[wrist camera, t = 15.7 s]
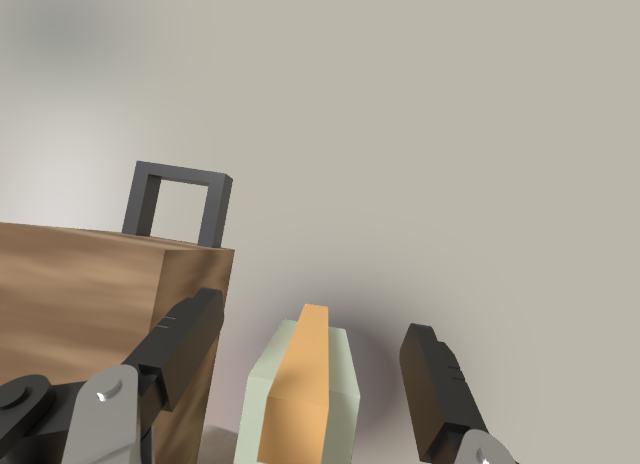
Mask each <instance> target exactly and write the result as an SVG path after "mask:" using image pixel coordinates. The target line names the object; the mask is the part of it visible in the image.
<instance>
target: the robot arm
mask: <svg viewBox="0 0 640 464" xmlns="http://www.w3.org/2000/svg"><path fill="white" fill-rule="evenodd" d="M223 321H224V306H223V293H222V291H221V290H218V289H212V288H206V287H203V288H201V289H200V290H199V291H198V292H197V294H196V295H195V296H194V297H193V298H188V297H187V298H185V299H184V300H182V301H180V302H179V303H177V304H176V305H174V306H173V307H172V308H171V309H170V311H169V312H168V313H167V314H166V315H165V317H164V318H162V319H161V321H160V322H159V323H158V324H157V326H155V327H154V328H153V329H152V330H151V332H150V333H149V334H148V335H147V336H146V337H145V338H144V339H143V340H142V342H141V343H140V344H139V345H138V346H137V347H136V348H135V349H134V350H133V351H132V353H131V354H130V355H129V356H128V357H127V358H126V359H125V360H124V361H123V362H122V363H121V364H120V365H115V366H112V367H109V368H106V369H104V370H102V371H100V372H99V373H97V374H96V375H94V376H93V377H91V378H90V379H89V380H87V381H81V382H73V383H66V384H59V385H51V383H50V382H49V380H48V379H47V377H45V376H43V375H39V374H33V375H27V376H22V377H19V378H16V379H14V380H11V381H9V382H7V383H5V384H3V385H1V386H0V460H1V459H2V458H3V459H2V460H1V461H0V464H155V454H154V421H155V419H156V417H157V416H158V414H159V413H160V411H161V410H162V411H167V412H173V410H174V409H175V407H176V405H177V404H178V402H179V400H180V398H181V397H182V395H183V393H184V392H185V390H186V388H187V387H188V385H189V383H190V381H191V380H192V378H193V376H194V375H195V373H196V371H197V370H198V368H199V366H200V364H201V363H202V361H203V359H204V358H205V356H206V354H207V353H208V351H209V349H210V348H211V346H212V344H213V342H214V341H215V339H216V337H217V336H218V334H219V332H220V330H221V328H222V325H223ZM400 366H401V370H402V376H403V381H404V386H405V391H406V395H407V400H408V405H409V410H410V415H411V420H412V425H413V430H414V434H415V439H416V444H417V449H418V453H419V459H420V461H421V462H426V463H432V464H519V463H517V462H516V461H514V459H513V457H512V456H511V455H510V453H509V451H508V450H507V449H506V448H505V447H504V446H503V445H502V444H501V443H500V442H499V441H498V440H497V439H496V438H494V437H493V436H492V435H490V434H489V432H488V430H487V428H486V426H485V424H484V421H483V419H482V417H481V414H480V412H479V410H478V407H477V405H476V403H475V401H474V398H473V396H472V394H471V391H470V389H469V387H468V385H467V383H466V382H465V378H464V375H463V373H462V371H460V366H459V364H458V362H457V360H456V357H455V355H454V354H453V353H452V351H451V350H450V349H449V348H448V346H447V345H446V344H445V343H444V342H439V341H437V338H436V335H435V333H434V330H433V329H432V327H431V326H426V325H419V324H414V323H412V324H410V326H409V328H408V331H407V333H406V336H405V338H404V341H403V344H402V346H401V349H400Z"/></svg>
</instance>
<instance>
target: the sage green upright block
mask: <svg viewBox="0 0 640 464" xmlns="http://www.w3.org/2000/svg"><path fill="white" fill-rule="evenodd" d="M297 323H298V321H292V320H286V319H284V320H283V321H282V323H281V324H280V326H279V328H278V329H277V331H276V332H275V334H274V336H273V337H272V339H271V341H270V342H269V344H268V345H267V347H266V348H265V350H264V352H263V353H262V355H261V356H260V358H259V360H258V361H257V363H256V365H255V366H254V368H253V369H252V371H251V372H250V374H249V376H248V382H247V387H246V393H245V398H244V404H243V410H242V416H241V422H240V428H239V434H238V439H237V445H236V451H235V457H234V463H233V464H266V463H261V462H256V461H257V455H258V449H259V443H260V437H261V431H262V425H263V419H264V413H265V407H266V401H267V396H268V393H269V391H270V388H271V386H272V383H273V381H274V379H275V376H276V374H277V371H278V369H279V366H280V364H281V362H282V359H283V357H284V354H285V352H286V349H287V347H288V344H289V342H290V340H291V337H292V335H293V332H294V330H295V327H296V325H297ZM328 364H329V411H328V417H327V424H326V431H325V438H324V444H323V451H322V458H321V464H351V459H352V451H353V444H354V437H355V429H356V423H357V416H358V409H359V401H360V393H359V388H358V384H357V380H356V375H355V371H354V367H353V362H352V357H351V353H350V349H349V344H348V340H347V336H346V331H345V330H344V329H339V328H334V327H328Z"/></svg>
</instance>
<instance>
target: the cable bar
mask: <svg viewBox="0 0 640 464" xmlns="http://www.w3.org/2000/svg"><path fill="white" fill-rule="evenodd" d="M328 411H329V364H328V307H323V306H317V305H311V304H305V305H304V308H303V310H302V313H301V315H300V318H299V320H298V323H297V325H296V327H295V330H294V332H293V335H292V337H291V340H290V342H289V344H288V347H287V349H286V352H285V354H284V357H283V359H282V362H281V364H280V366H279V369H278V371H277V374H276V376H275V379H274V381H273V383H272V386H271V388H270V391H269V393H268V396H267V401H266V407H265V413H264V419H263V425H262V431H261V437H260V443H259V449H258V455H257V461H256V462H261V463H266V464H321V458H322V451H323V444H324V438H325V431H326V424H327V417H328Z"/></svg>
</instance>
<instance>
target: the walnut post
mask: <svg viewBox="0 0 640 464" xmlns="http://www.w3.org/2000/svg"><path fill="white" fill-rule="evenodd" d="M234 252H235V250H233V249H226V248H209V247H203V246H197V244H195V243H189V242H182V241H176V240H170V239H164V238H158V237H152V236H150V237H147V236H134V235H128V234H122V233H121V232H109V231H97V230H85V229H73V228H60V227H49V226H37V225H25V224H13V223H1V222H0V386H1V385H3V384H5V383H7V382H9V381H11V380H14V379H16V378H19V377H22V376H27V375H33V374H39V375H43V376H45V377H47V379H48V380H49V382H50V383H51V385H59V384H66V383H73V382H81V381H87V380H89V379H90V378H91V377H93V376H94V375H96V374H97V373H99V372H100V371H102V370H104V369H106V368H109V367H112V366H115V365H120V364H121V363H122V362H123V361H124V360H125V359H126V358H127V357H128V356H129V355H130V354H131V353H132V351H133V350H134V349H135V348H136V347H137V346H138V345H139V344H140V343H141V342H142V340H143V339H144V338H145V337H146V336H147V335H148V334H149V333H150V332H151V330H152V329H153V328H154V327H155V326H157V324H158V323H159V322H160V321H161V319H162V318H164V317H165V315H166V314H167V313H168V312H169V311H170V309H171V308H172V307H173V306H174V305H176V304H177V303H179V302H180V301H182V300H184V299H185V298H187V297H188V298H193V297H194V296H195V295H196V294H197V292H198V291H199V290H200V289H201V288H203V287H206V288H212V289H218V290H221V291H222V293H223V306H224V307H225V302H226V296H227V291H228V285H229V279H230V274H231V269H232V263H233V257H234ZM219 335H220V332H219V334H218V336H217V337H216V339H215V341H214V342H213V344H212V346H211V348H210V349H209V351H208V353H207V354H206V356H205V358H204V359H203V361H202V363H201V364H200V366H199V368H198V370H197V371H196V373H195V375H194V376H193V378H192V380H191V381H190V383H189V385H188V387H187V388H186V390H185V392H184V393H183V395H182V397H181V398H180V400H179V402H178V404H177V405H176V407H175V409H174V410H173V412H167V411H162V410H161V411H160V413H159V414H158V416H157V417H156V419H155V421H154V454H155V464H196V463H197V457H198V452H199V446H200V441H201V435H202V430H203V424H204V419H205V413H206V407H207V402H208V396H209V391H210V385H211V380H212V374H213V368H214V363H215V357H216V351H217V346H218V341H219ZM2 459H3V458H2ZM2 459H1V460H2ZM1 460H0V461H1Z"/></svg>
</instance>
